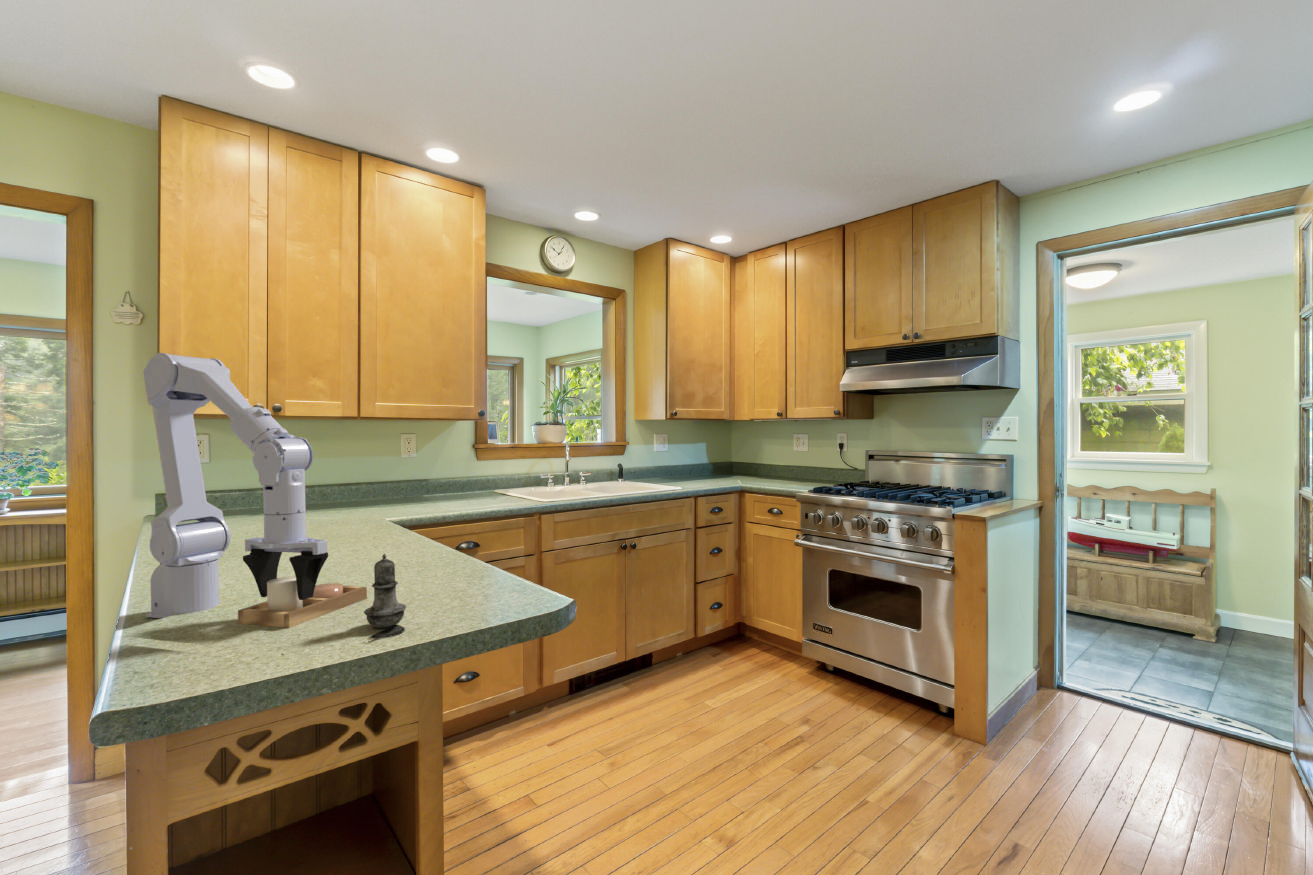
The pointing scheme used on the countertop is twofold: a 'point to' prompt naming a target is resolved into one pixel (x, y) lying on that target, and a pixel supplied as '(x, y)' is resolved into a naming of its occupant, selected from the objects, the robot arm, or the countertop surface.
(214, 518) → the robot arm
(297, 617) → the tray
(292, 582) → the cream cylinder
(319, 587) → the pinkish tan dome
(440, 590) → the countertop surface
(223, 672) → the countertop surface
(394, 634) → the salt shaker
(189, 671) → the countertop surface
